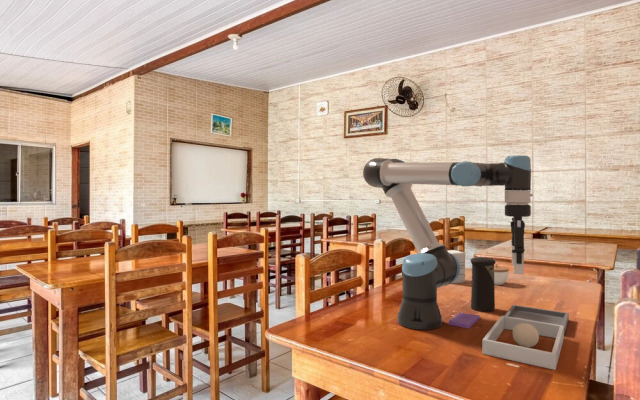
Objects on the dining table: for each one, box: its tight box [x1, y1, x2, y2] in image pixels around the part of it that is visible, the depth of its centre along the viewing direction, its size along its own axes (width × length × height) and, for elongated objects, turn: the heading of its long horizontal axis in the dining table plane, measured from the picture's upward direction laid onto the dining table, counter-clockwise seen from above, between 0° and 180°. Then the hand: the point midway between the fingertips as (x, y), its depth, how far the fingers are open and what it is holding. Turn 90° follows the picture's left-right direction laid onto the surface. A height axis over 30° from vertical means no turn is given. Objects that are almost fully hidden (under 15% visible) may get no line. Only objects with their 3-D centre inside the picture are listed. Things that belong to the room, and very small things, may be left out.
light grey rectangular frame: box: [481, 315, 565, 371], centre depth 119 cm, size 26×18×4 cm
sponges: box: [448, 312, 481, 329], centre depth 141 cm, size 7×13×2 cm, turn 142°
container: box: [470, 256, 496, 313], centre depth 155 cm, size 9×9×20 cm
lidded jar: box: [494, 263, 510, 286], centre depth 196 cm, size 11×11×9 cm
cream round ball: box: [512, 323, 540, 348], centre depth 119 cm, size 7×7×7 cm
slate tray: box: [504, 304, 570, 337], centre depth 140 cm, size 18×18×2 cm
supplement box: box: [447, 249, 466, 285], centre depth 201 cm, size 9×9×15 cm
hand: (517, 269), depth 129 cm, fingers open, 13 cm apart
